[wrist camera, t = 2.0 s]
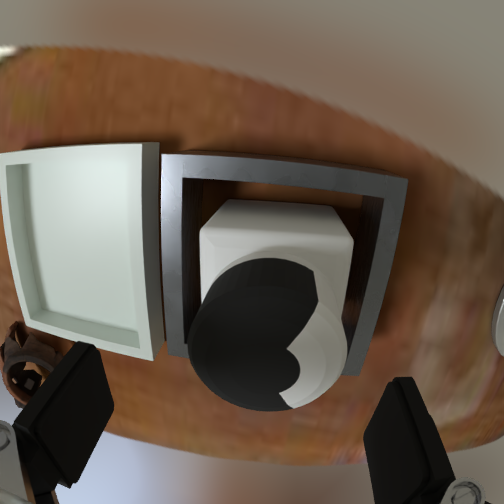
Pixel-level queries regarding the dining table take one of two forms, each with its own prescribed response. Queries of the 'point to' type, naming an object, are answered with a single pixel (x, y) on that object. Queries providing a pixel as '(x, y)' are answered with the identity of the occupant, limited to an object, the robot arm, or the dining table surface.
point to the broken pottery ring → (15, 359)
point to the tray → (87, 242)
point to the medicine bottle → (271, 303)
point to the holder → (282, 173)
